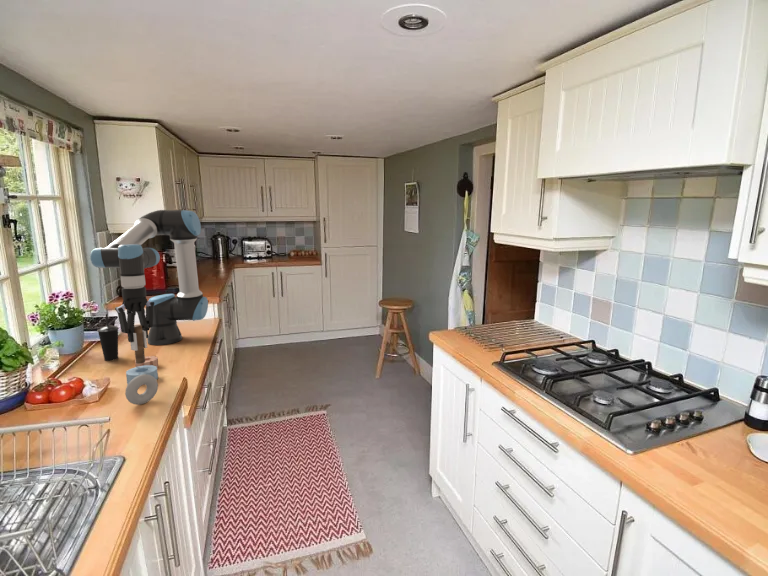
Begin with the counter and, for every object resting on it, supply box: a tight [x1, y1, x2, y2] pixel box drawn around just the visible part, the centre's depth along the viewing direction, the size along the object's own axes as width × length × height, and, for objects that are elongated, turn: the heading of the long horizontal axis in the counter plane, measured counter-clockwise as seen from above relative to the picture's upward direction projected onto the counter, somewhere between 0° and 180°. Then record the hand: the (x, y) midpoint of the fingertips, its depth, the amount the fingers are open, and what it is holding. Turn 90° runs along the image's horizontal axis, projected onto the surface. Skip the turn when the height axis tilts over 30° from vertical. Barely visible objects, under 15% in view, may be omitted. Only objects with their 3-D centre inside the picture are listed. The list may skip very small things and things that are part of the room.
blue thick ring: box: [125, 365, 159, 385], centre depth 151 cm, size 10×10×4 cm
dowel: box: [134, 324, 146, 364], centre depth 149 cm, size 3×3×14 cm
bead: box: [134, 355, 159, 368], centre depth 164 cm, size 8×8×4 cm
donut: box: [124, 374, 159, 406], centre depth 132 cm, size 10×3×10 cm, turn 148°
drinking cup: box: [96, 313, 120, 362], centre depth 171 cm, size 8×8×20 cm
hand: (139, 348), depth 149 cm, fingers closed on dowel, 3 cm apart
